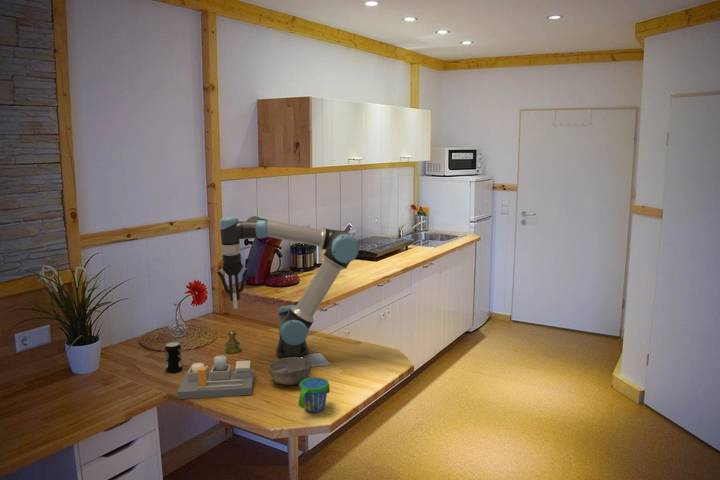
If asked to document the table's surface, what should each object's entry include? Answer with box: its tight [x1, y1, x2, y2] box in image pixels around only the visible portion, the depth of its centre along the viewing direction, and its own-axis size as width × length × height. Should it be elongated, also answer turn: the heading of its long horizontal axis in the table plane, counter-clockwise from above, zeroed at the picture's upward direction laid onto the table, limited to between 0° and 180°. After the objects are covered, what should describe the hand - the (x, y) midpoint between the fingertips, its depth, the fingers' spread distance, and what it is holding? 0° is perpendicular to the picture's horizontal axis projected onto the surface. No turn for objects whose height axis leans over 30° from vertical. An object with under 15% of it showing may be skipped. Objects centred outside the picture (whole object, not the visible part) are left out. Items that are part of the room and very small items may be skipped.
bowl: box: [267, 357, 312, 386], centre depth 235 cm, size 18×18×8 cm
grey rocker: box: [235, 360, 251, 372], centre depth 234 cm, size 6×5×2 cm
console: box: [176, 364, 255, 400], centre depth 230 cm, size 28×18×6 cm, turn 97°
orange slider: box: [198, 367, 207, 387], centre depth 224 cm, size 3×3×7 cm
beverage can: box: [164, 341, 183, 374], centre depth 248 cm, size 7×7×12 cm
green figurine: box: [224, 329, 242, 354], centre depth 271 cm, size 7×7×10 cm
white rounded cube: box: [191, 362, 205, 373], centre depth 232 cm, size 5×5×5 cm
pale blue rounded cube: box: [213, 354, 228, 371], centre depth 233 cm, size 5×5×5 cm
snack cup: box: [298, 376, 331, 413], centre depth 210 cm, size 16×10×10 cm
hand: (235, 307), depth 246 cm, fingers closed
